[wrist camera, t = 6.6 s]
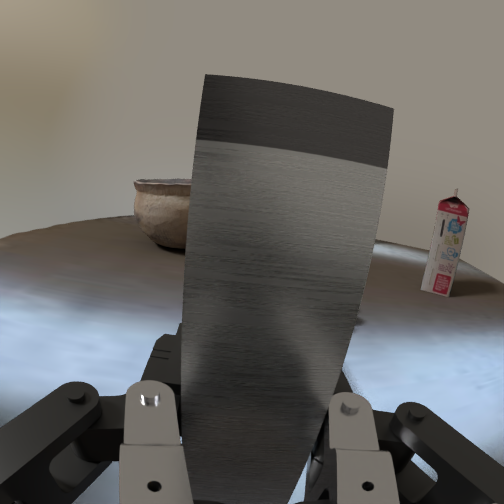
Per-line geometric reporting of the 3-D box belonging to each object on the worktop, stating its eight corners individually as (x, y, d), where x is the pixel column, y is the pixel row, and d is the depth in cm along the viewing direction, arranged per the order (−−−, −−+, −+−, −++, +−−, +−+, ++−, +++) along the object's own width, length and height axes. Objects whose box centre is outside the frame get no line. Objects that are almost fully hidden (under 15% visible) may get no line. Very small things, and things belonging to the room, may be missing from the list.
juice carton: (447, 288, 61) (468, 192, 56) (448, 297, 56) (471, 192, 50) (422, 281, 65) (441, 186, 59) (420, 289, 59) (442, 184, 53)
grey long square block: (189, 549, 10) (204, 74, 5) (193, 498, 13) (216, 107, 8) (261, 552, 10) (393, 108, 5) (257, 502, 13) (338, 125, 8)
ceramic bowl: (190, 266, 59) (196, 185, 55) (112, 244, 67) (113, 177, 63) (240, 244, 79) (246, 183, 75) (169, 229, 87) (173, 175, 83)
